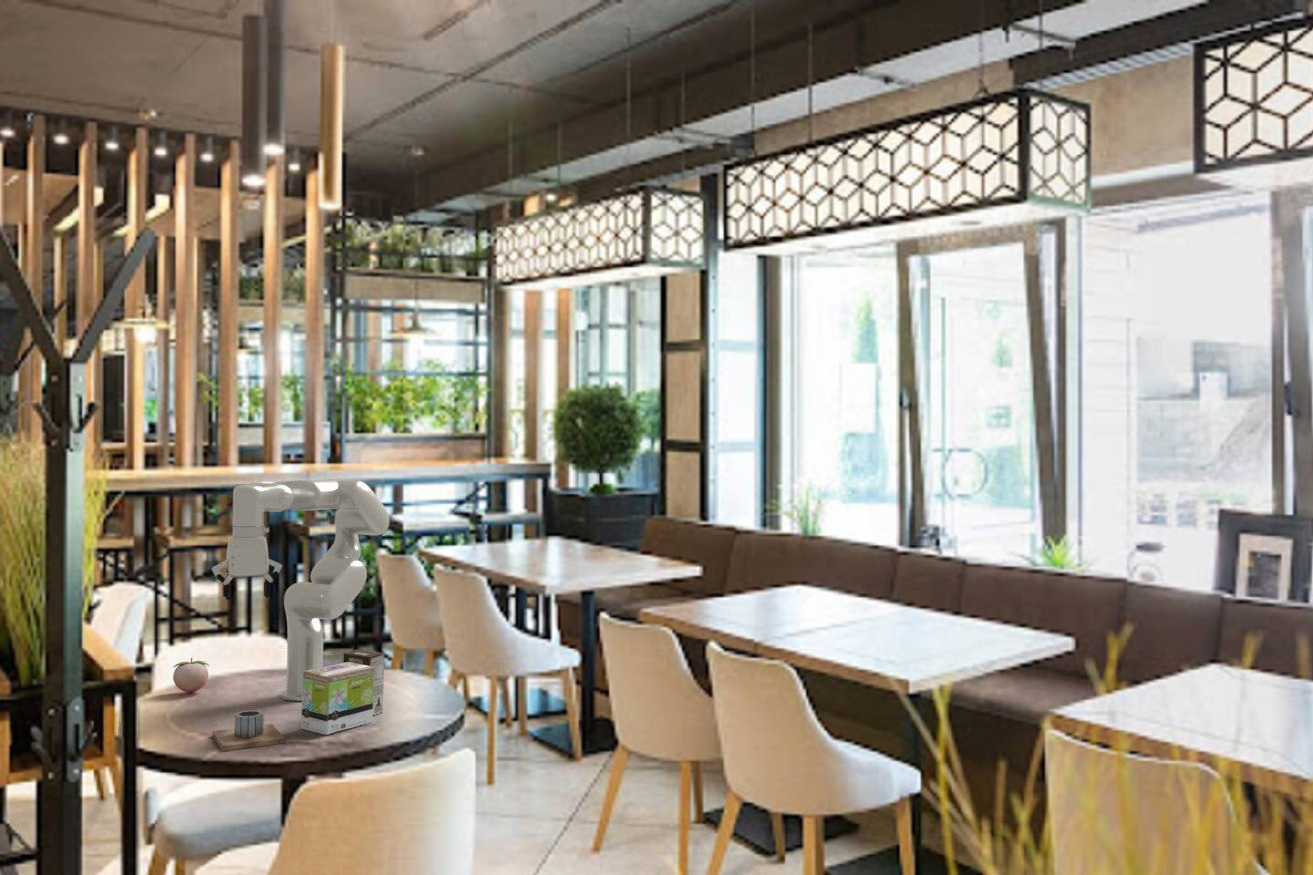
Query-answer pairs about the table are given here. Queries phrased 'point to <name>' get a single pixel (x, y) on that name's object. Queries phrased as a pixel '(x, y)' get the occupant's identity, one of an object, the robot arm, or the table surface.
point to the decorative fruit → (190, 675)
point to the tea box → (337, 697)
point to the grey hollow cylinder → (249, 724)
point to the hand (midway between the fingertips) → (247, 598)
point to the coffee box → (378, 663)
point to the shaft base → (247, 739)
